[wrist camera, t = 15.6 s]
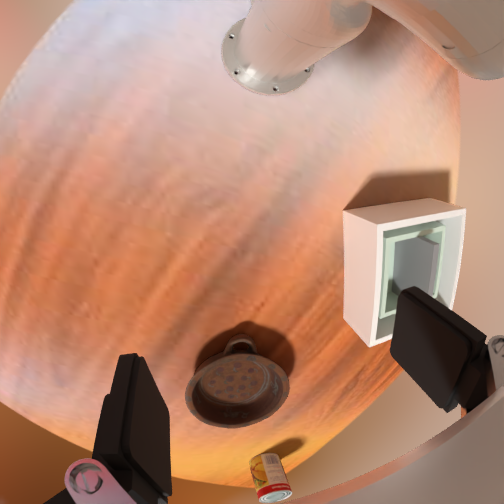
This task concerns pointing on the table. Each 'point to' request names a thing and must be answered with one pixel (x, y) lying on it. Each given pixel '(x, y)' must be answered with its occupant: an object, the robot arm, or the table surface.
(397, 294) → the small crate
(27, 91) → the table surface
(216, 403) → the dish
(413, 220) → the big crate
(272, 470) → the canned food
